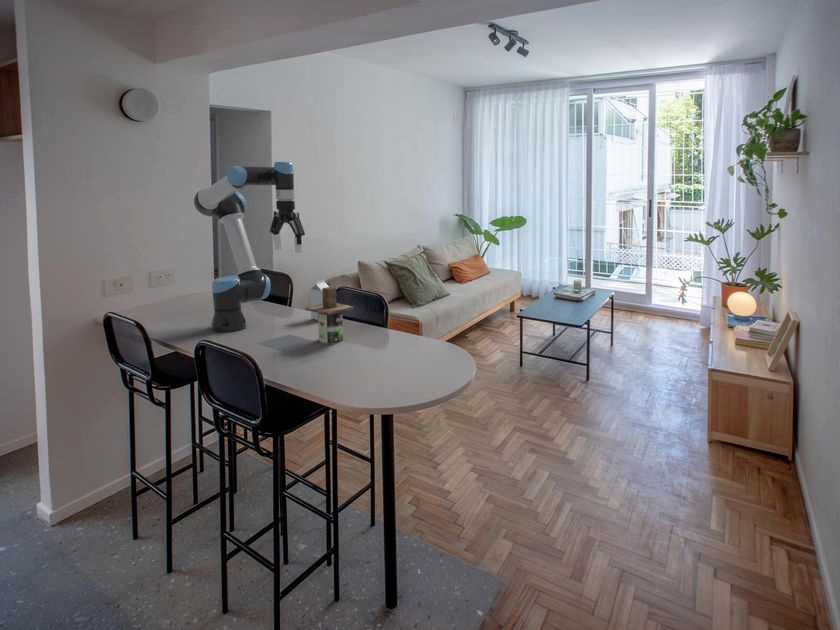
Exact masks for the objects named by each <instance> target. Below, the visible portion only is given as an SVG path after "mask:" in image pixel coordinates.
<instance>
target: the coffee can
mask: <svg viewBox="0 0 840 630" xmlns="http://www.w3.org/2000/svg"><path fill="white" fill-rule="evenodd" d="M317 322H318V341H319V343H321V344H324V345H334V344H339V343H342V342H343V341H344V329H343V328H344V327H343V326H344V324H343V323H344V322H343V312H340V313H336V314H332V315H326V314H322V313H318V320H317Z"/></svg>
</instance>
